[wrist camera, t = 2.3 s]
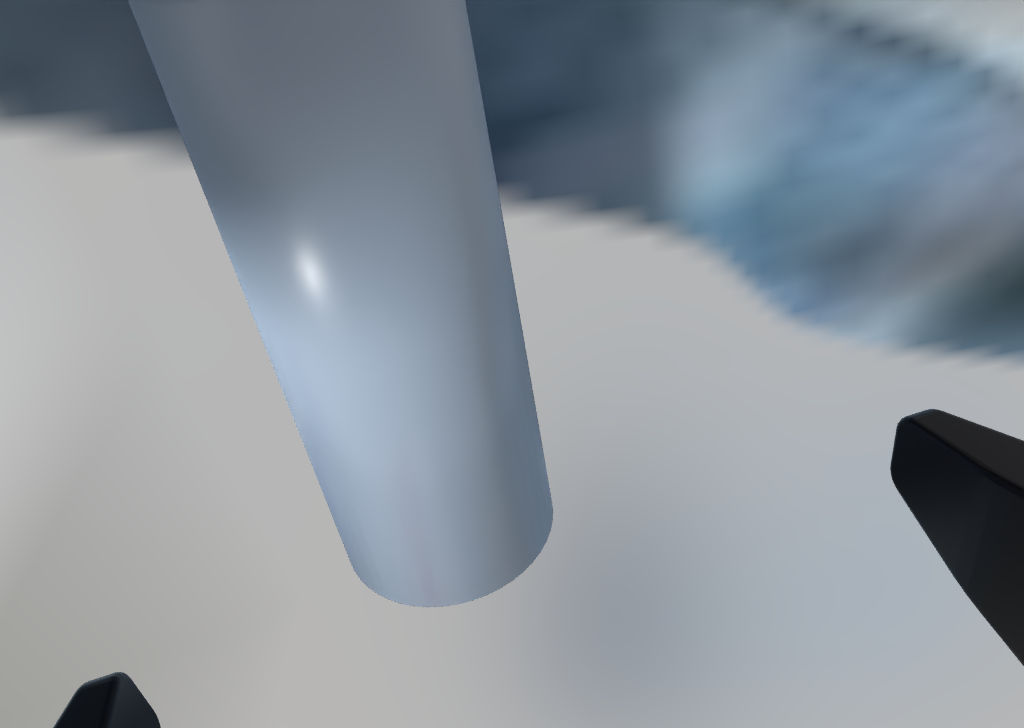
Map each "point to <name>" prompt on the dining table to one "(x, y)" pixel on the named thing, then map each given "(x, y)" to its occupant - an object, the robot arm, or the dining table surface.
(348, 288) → the cylinder
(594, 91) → the dining table surface
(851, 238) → the dining table surface
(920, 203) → the dining table surface
